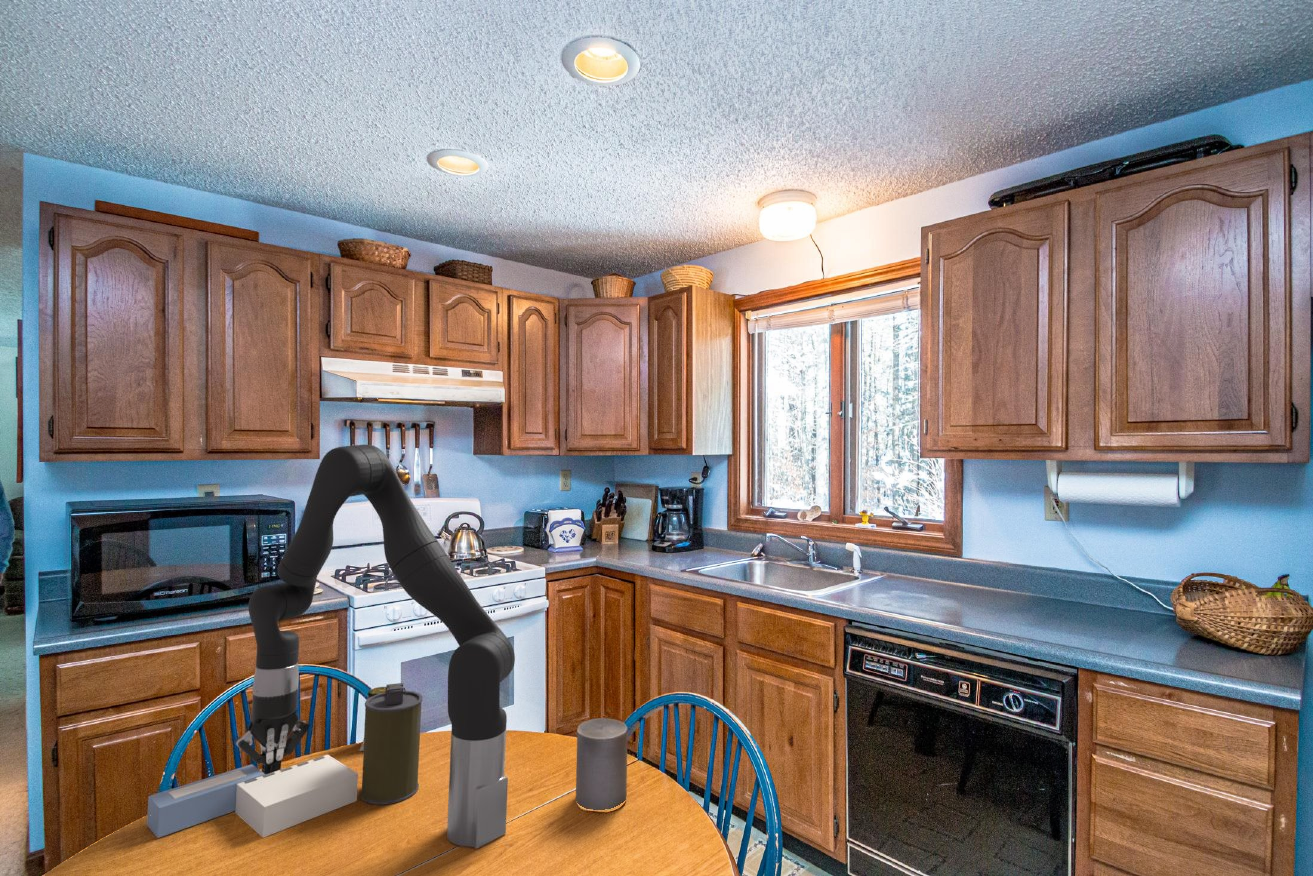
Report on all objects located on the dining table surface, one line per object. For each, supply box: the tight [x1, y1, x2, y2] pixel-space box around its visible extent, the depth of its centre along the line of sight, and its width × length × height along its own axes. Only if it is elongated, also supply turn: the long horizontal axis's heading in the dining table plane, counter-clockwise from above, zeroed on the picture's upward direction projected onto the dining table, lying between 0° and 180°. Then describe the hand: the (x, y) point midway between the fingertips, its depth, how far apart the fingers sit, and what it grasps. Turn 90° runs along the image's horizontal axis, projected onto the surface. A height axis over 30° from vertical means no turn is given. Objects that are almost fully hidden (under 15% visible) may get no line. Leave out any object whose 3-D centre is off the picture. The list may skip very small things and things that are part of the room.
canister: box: [359, 682, 424, 806], centre depth 125 cm, size 11×10×20 cm
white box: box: [234, 754, 359, 838], centre depth 118 cm, size 12×16×5 cm
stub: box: [146, 763, 265, 839], centre depth 115 cm, size 6×16×5 cm, turn 142°
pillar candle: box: [575, 717, 628, 810], centre depth 124 cm, size 10×10×15 cm
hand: (270, 780), depth 123 cm, fingers closed
